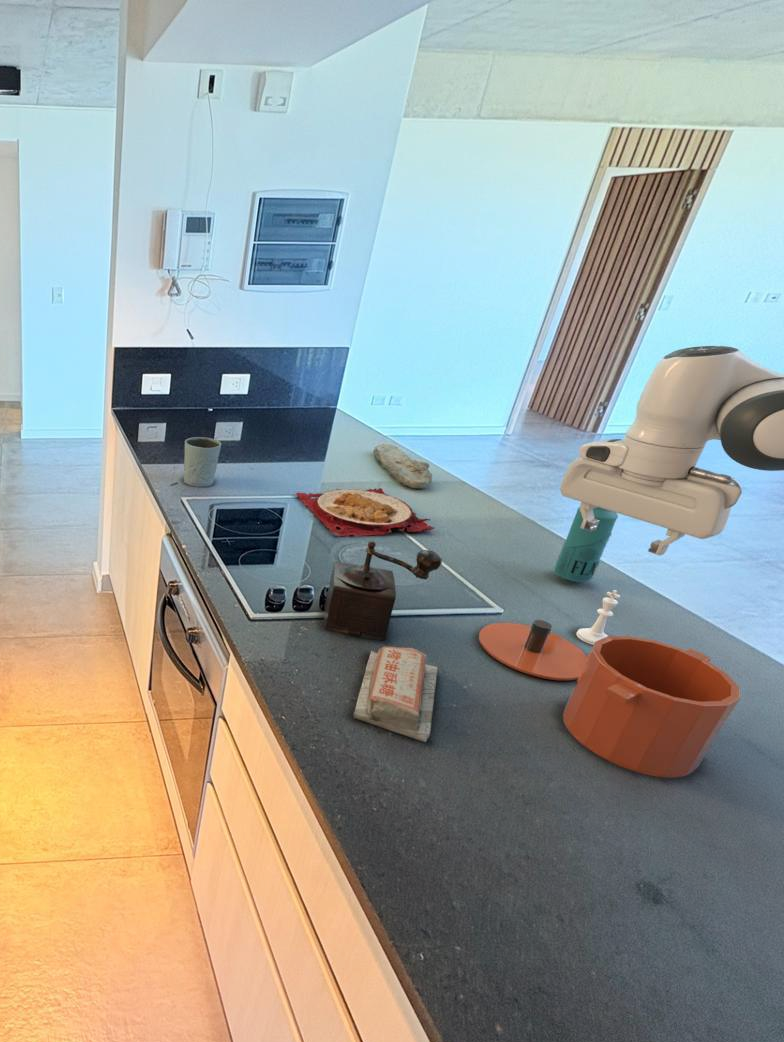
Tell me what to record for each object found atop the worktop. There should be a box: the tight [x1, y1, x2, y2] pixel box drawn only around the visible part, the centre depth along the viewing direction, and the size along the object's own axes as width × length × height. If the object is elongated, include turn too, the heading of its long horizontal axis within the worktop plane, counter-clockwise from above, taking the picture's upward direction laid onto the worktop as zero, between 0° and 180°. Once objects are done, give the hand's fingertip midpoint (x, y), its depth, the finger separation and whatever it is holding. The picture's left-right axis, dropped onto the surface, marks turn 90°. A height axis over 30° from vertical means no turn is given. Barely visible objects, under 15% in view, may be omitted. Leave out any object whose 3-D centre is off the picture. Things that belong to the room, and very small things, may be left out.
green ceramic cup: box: [183, 436, 222, 488], centre depth 177 cm, size 10×10×12 cm
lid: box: [478, 619, 588, 681], centre depth 104 cm, size 16×16×6 cm
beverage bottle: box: [554, 507, 619, 583], centre depth 122 cm, size 6×7×20 cm
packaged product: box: [353, 645, 438, 743], centre depth 95 cm, size 18×5×10 cm
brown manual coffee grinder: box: [323, 540, 443, 641], centre depth 109 cm, size 16×11×18 cm
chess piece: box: [576, 589, 621, 646], centre depth 106 cm, size 5×5×10 cm
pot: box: [562, 635, 741, 779], centre depth 85 cm, size 15×20×12 cm
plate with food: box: [295, 487, 436, 537], centre depth 157 cm, size 24×26×3 cm
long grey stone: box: [372, 443, 433, 489], centre depth 185 cm, size 35×5×10 cm
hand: (620, 540), depth 98 cm, fingers open, 8 cm apart
